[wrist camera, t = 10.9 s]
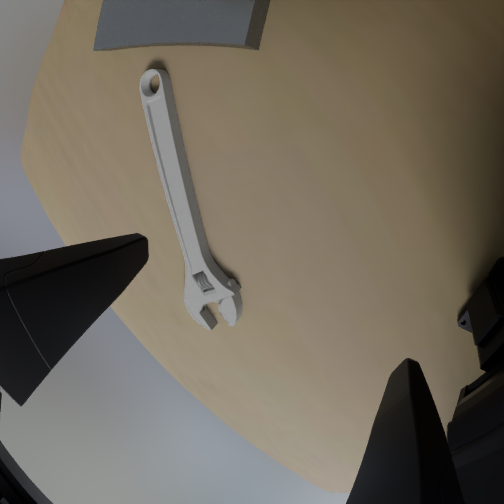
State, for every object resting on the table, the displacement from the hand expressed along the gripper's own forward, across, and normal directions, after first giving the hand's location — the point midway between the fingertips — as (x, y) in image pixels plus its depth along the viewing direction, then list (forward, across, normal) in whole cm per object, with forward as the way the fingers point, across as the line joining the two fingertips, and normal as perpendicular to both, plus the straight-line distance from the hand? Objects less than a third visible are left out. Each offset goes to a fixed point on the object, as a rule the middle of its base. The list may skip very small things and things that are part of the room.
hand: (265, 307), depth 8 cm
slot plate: (+12, +15, -15) cm, 25 cm away
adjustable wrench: (+13, +10, +6) cm, 17 cm away
